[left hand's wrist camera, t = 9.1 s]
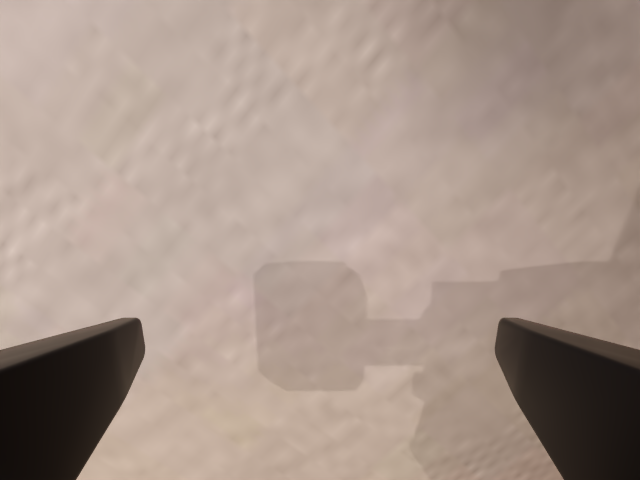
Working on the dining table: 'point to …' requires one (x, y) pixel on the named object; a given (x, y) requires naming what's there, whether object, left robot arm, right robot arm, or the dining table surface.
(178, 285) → the dining table surface
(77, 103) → the dining table surface
